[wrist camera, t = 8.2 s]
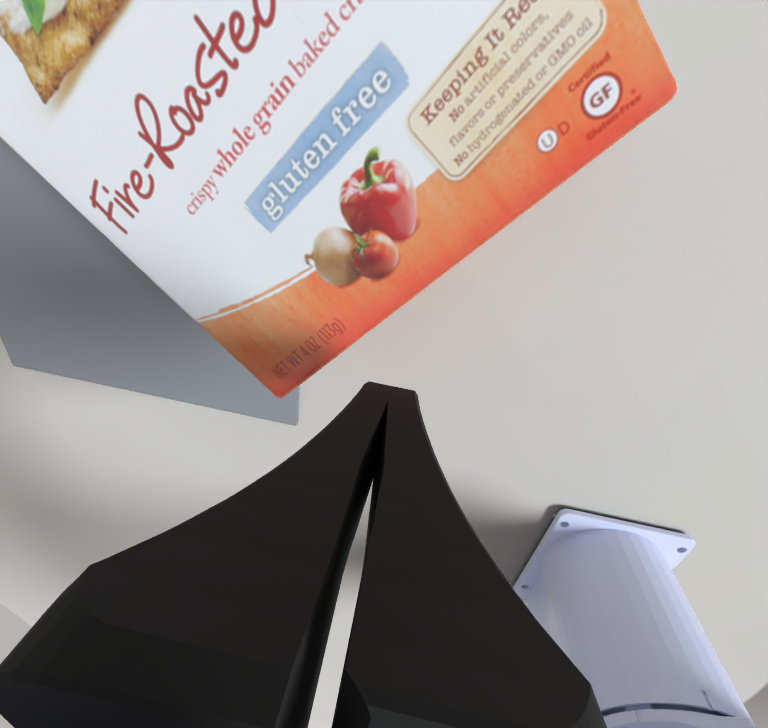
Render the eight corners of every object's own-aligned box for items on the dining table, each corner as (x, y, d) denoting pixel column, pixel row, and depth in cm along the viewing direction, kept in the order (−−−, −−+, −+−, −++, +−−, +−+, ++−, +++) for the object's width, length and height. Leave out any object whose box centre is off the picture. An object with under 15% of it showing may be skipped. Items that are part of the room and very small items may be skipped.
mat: (297, 422, 22) (296, 425, 22) (17, 363, 23) (13, 365, 23) (312, 32, 13) (309, 30, 13) (-153, -43, 14) (-164, -46, 14)
